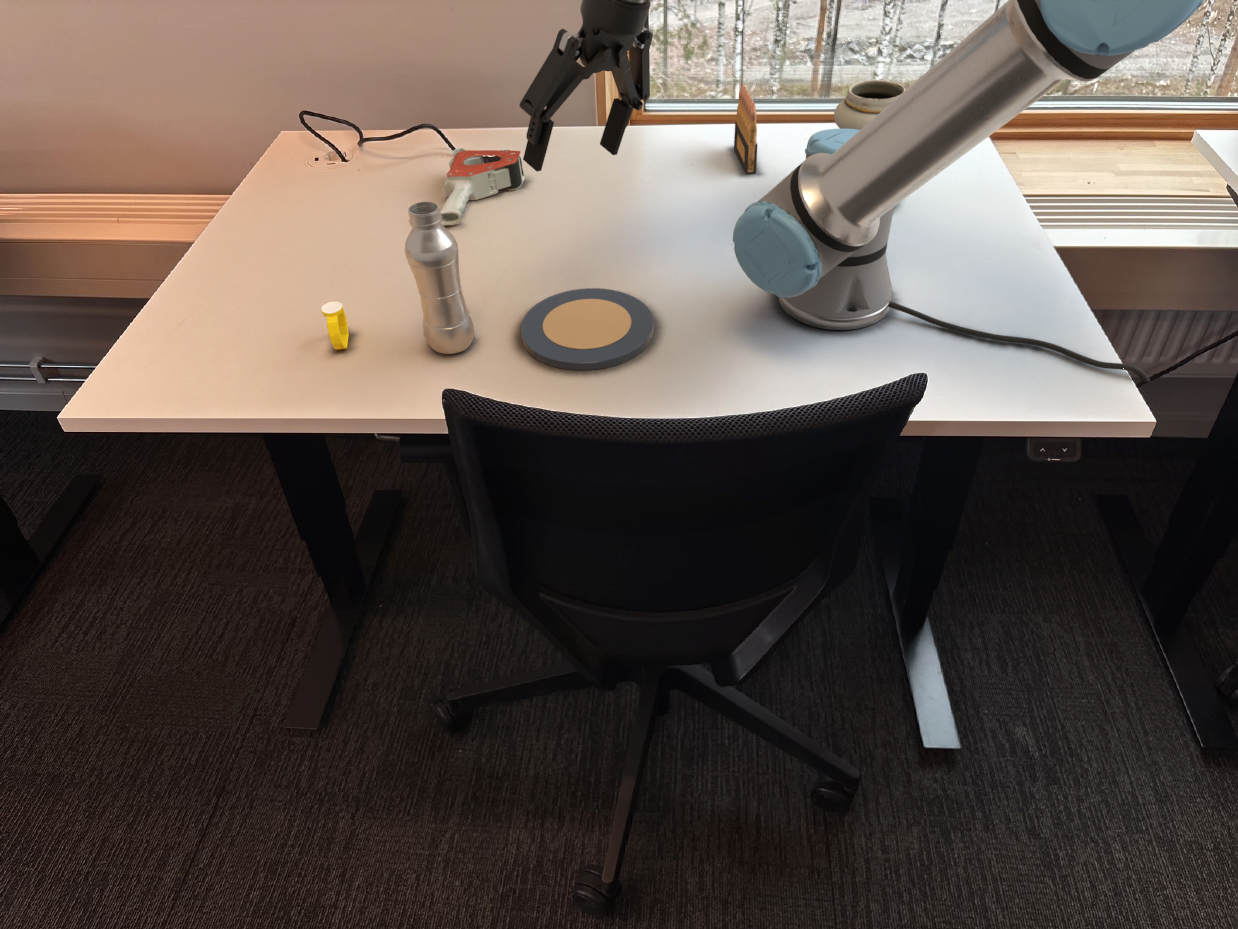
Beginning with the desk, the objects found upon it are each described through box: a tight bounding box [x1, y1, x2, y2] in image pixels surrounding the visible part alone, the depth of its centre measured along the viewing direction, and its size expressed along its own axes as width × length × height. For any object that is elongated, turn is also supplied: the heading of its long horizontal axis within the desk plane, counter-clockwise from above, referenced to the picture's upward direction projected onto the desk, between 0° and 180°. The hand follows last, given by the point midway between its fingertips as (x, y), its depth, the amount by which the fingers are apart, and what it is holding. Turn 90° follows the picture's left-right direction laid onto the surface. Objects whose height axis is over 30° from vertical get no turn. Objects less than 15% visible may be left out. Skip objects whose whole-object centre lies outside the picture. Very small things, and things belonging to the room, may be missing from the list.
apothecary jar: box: [833, 79, 907, 130], centre depth 140 cm, size 12×12×18 cm
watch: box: [320, 301, 350, 351], centre depth 120 cm, size 6×3×6 cm, turn 7°
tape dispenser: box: [440, 147, 526, 227], centre depth 152 cm, size 18×5×20 cm
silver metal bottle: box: [404, 200, 475, 355], centre depth 114 cm, size 6×7×20 cm
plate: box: [520, 287, 655, 371], centre depth 121 cm, size 18×18×1 cm
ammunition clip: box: [733, 82, 758, 175], centre depth 155 cm, size 11×2×12 cm, turn 6°
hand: (571, 157), depth 115 cm, fingers open, 13 cm apart
